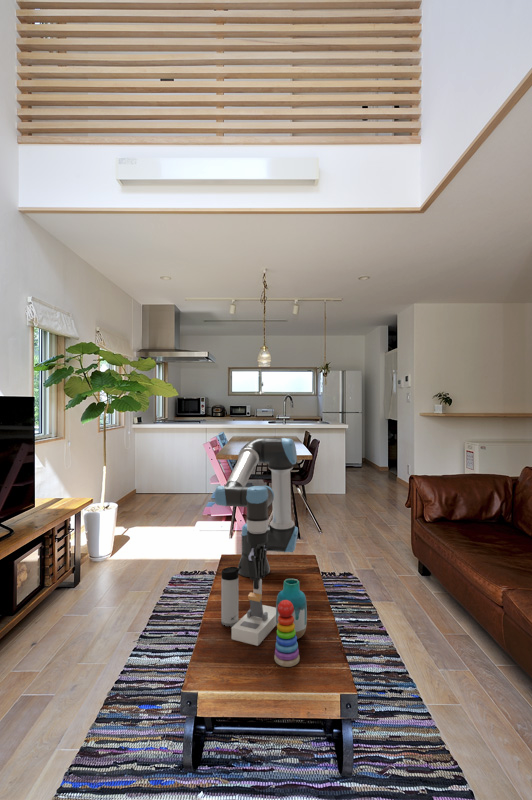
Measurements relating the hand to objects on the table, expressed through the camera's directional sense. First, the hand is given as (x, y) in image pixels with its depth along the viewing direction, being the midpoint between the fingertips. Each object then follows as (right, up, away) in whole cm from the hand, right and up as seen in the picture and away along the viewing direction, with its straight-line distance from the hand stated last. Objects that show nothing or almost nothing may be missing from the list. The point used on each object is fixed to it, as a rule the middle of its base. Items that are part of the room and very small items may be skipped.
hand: (257, 596), depth 162 cm
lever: (0, -7, 0) cm, 7 cm away
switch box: (0, -12, 0) cm, 12 cm away
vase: (+12, -12, -5) cm, 17 cm away
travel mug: (-10, -12, +5) cm, 16 cm away
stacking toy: (+10, -12, -20) cm, 25 cm away
